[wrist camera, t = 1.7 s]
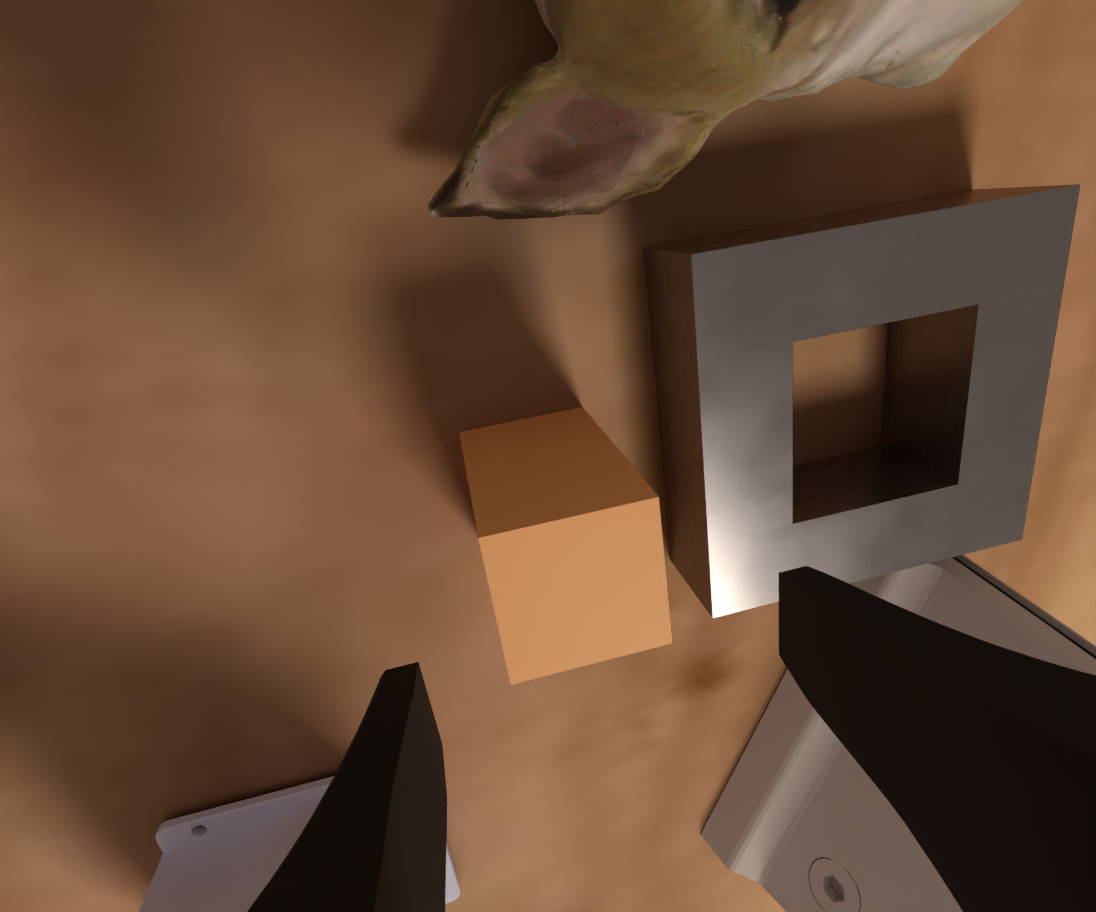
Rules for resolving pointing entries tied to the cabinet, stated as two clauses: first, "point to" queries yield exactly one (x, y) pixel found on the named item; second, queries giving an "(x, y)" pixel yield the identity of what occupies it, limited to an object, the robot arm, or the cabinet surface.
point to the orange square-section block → (566, 543)
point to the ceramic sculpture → (679, 89)
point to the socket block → (910, 397)
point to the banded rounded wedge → (839, 781)
